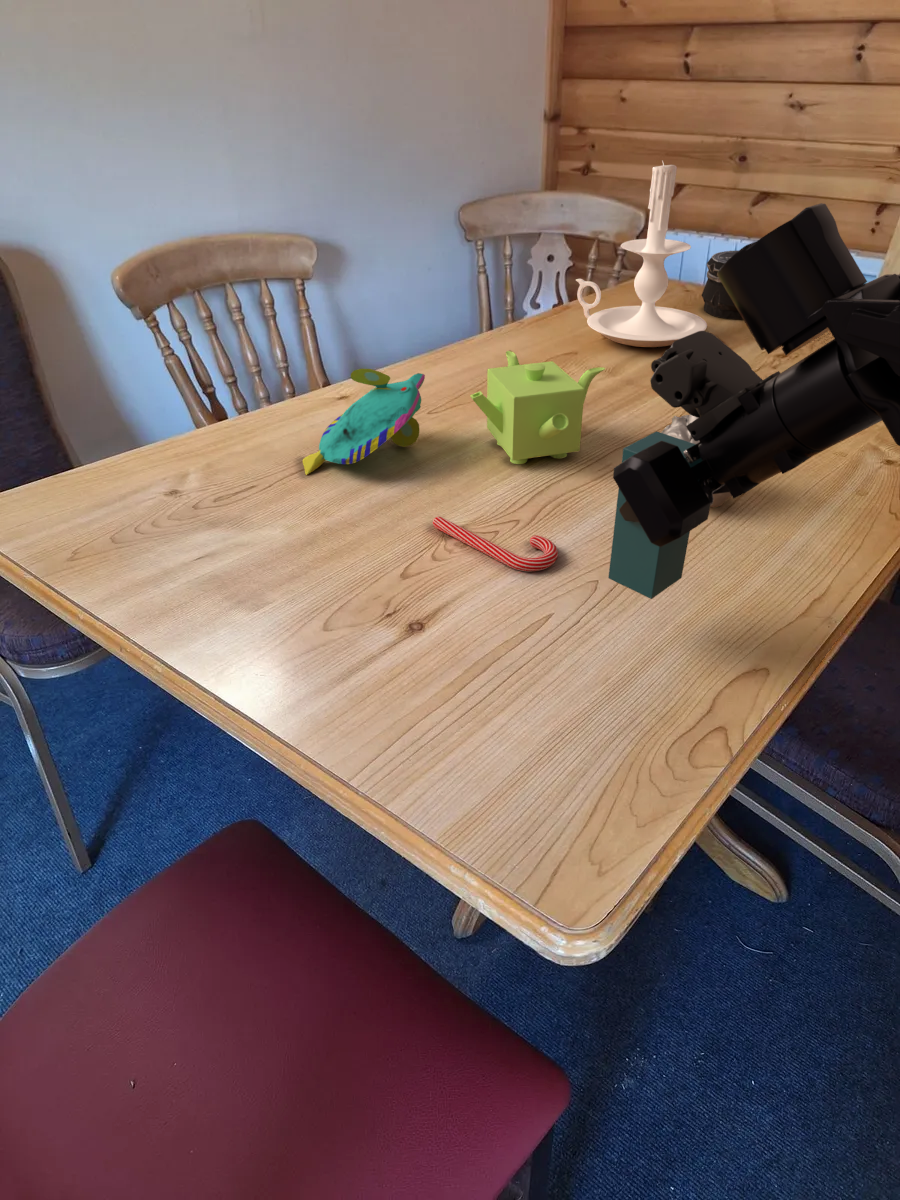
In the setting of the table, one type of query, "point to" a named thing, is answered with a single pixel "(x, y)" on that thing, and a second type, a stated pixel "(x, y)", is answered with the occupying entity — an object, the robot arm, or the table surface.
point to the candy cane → (499, 552)
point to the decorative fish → (371, 420)
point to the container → (718, 289)
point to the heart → (681, 432)
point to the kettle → (534, 408)
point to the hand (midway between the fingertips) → (640, 504)
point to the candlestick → (648, 281)
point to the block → (646, 540)
